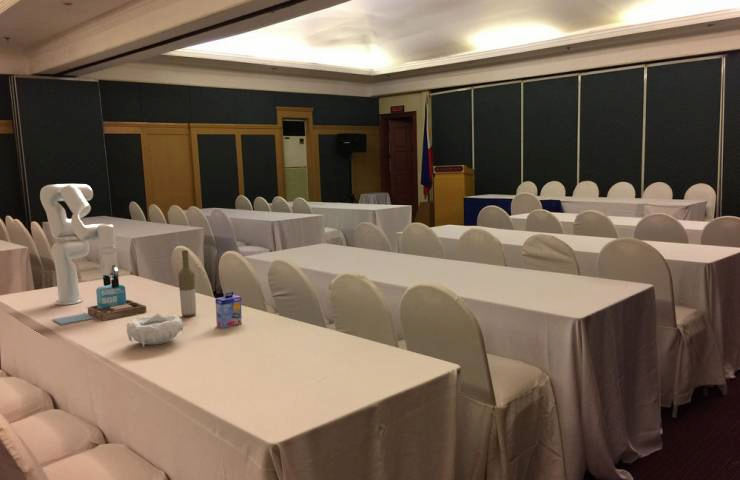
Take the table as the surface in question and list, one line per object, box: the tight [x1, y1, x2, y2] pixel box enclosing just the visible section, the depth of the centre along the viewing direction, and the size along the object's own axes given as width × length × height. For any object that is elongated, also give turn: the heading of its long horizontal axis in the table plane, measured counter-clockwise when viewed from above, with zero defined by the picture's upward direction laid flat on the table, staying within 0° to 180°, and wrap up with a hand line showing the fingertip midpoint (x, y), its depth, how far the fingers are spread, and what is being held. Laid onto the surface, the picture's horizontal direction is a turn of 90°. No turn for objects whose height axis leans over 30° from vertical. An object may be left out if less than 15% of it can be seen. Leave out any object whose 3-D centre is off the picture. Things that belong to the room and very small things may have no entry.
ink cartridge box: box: [215, 291, 243, 329], centre depth 250 cm, size 10×6×14 cm, turn 136°
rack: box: [87, 299, 148, 321], centre depth 276 cm, size 19×20×3 cm
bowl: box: [126, 313, 184, 348], centre depth 227 cm, size 21×20×10 cm
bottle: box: [177, 249, 197, 318], centre depth 266 cm, size 7×7×30 cm
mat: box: [51, 312, 96, 326], centre depth 265 cm, size 12×14×1 cm
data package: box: [95, 283, 127, 309], centre depth 280 cm, size 12×4×12 cm, turn 133°
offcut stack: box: [107, 304, 133, 313], centre depth 273 cm, size 7×10×4 cm
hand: (111, 286), depth 278 cm, fingers open, 9 cm apart
